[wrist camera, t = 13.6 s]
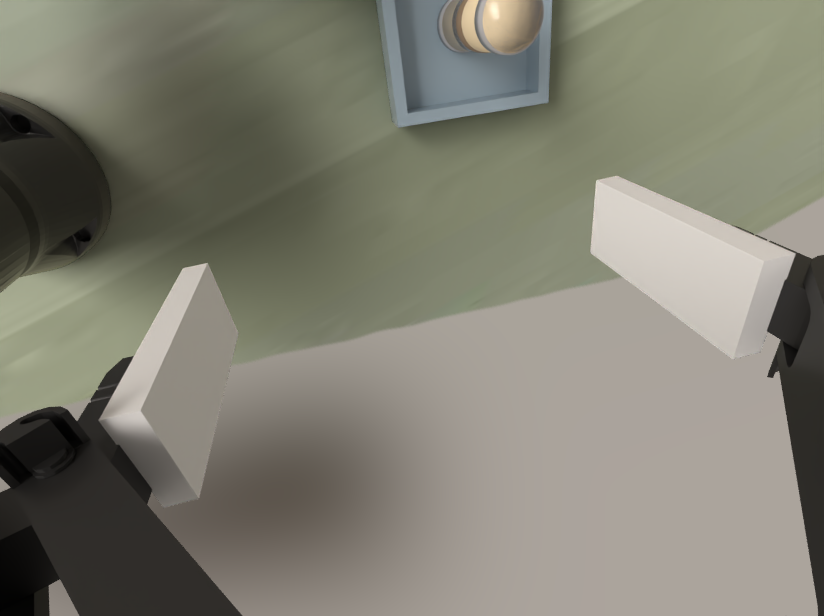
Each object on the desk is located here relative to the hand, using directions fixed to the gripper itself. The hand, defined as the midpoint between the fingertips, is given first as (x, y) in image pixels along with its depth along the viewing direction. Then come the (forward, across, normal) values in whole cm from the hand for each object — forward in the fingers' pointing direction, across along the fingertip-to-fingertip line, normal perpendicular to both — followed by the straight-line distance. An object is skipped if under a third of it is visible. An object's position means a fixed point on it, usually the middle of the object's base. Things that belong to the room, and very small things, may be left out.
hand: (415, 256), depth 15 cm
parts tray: (+31, +11, +6) cm, 34 cm away
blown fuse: (+30, +11, +6) cm, 33 cm away
